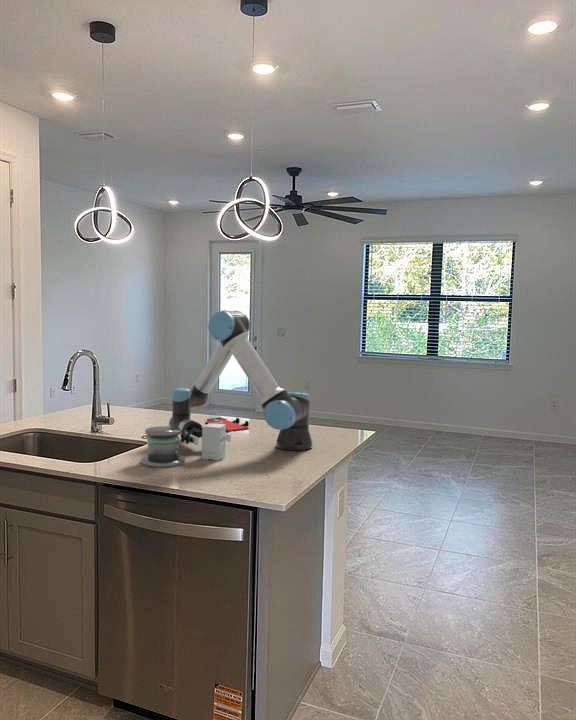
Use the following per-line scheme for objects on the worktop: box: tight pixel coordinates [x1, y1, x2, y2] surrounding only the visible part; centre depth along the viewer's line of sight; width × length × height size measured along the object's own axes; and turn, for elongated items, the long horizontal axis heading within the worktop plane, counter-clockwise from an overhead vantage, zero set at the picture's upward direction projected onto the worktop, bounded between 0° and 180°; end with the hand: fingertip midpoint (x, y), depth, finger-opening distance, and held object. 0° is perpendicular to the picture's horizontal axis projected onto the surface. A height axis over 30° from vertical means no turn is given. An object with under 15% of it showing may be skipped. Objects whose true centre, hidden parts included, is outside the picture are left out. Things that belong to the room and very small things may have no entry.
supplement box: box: [201, 423, 226, 461], centre depth 224 cm, size 7×7×13 cm
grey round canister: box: [140, 425, 186, 468], centre depth 216 cm, size 16×16×12 cm
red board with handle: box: [204, 416, 250, 433], centre depth 288 cm, size 30×3×15 cm
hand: (214, 439), depth 223 cm, fingers open, 13 cm apart
